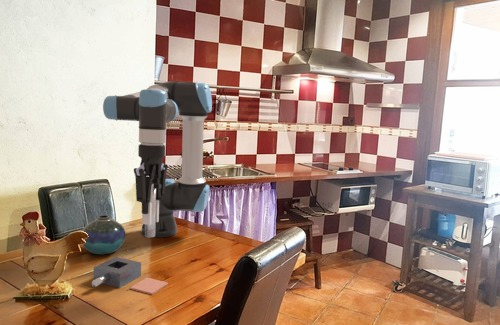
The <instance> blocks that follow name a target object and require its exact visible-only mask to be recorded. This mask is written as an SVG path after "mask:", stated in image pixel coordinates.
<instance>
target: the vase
mask: <svg viewBox="0 0 500 325" xmlns="http://www.w3.org/2000/svg"><path fill="white" fill-rule="evenodd" d="M82 231H84V232H86V233H87V234H88V236H89V237H88V238H87V239H85V241H86V243H85V244H82V246H83V247H84V249H85V250H86V251H87V252H89V253H91V254H94V255H108V254H112V253H114V252H116V251H118V250H119V249H120V248H121V247H122V245H123V244H124V242H125V239H126V231H125V228H124V226H123V225H122V224H121V223H119V222H118V221H116V220H114V219H112V218H110V216H109V215H107V214H103V215H102V214H101V215H98V216H97V218H96V219H94V220H93V221H90V222H89V223H87V224H86V225H85V226H84V228H82Z"/></svg>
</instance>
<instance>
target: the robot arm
mask: <svg viewBox="0 0 500 325" xmlns="http://www.w3.org/2000/svg"><path fill="white" fill-rule="evenodd" d="M104 98H105V99H104V100H103V102H102V103H103V104H102V110H103V114H104V116H105V118H106V119H108V120H113V121H129V122H130V121H131V122H132V121H134V122H138V142H139V143H140V144H138V148H137V149H138V155H137V156H138V157H139V158H141V161H140V164H139V167H135V168H134V169H133V173H134V177H135V179H134V180H135V196H136V198H135V200H136V202H139V203H141V214H142V215H141V216H142V217H141V224H142V225H141V234H142V235H143V236H145V224H146V225H151V213H152V203H150V195H151V186H152V182H154V183H157V184H161V188H160V189H156V220H155V237H154V238H156V239H157V238H160V239H161V238H169V237H172V236H175V235H176V234H177V233H178V225H177V223H176V218H175V215H174V212H175V211H178V212H179V211H180V212H181V211H182V212H192V213H196V212H197V213H199V212H200V213H201V212H204V211H205V210H206V208H207V205H208V201H209V197H210V192H211V191H210V185H209V184H207V180H206V179H205V177H203V171H204V170H203V168H204V167H203V164H204V162H203V161H204V122H205V120H206V119H207V117H209V116H208V113H209V114H210V113H211V112H212V111H213V110H212V109H213V107H212V106H213V98H212V92H211V88H210V86H209V85H208V84H207V83H205V82H198V81H196V82H195V81H194V82H191V81H189V82H188V81H165V82H161V83H156V84H152V85H149V86H148V87H147V88H146V89H141V90H140V91H136V92H134V93H130V94H126V95H116V94H115V95H108V96H106V97H104ZM177 116H179V118H180V119H181V120H182V144H181V146H182V148H181V149H182V150H181V177H180V178H178V179H177V182H175V179H174V178H167V170H168V168H169V165H168V164H167V163H163V160H162V159H164V158H165V156H166V145H165V143H166V140H167V139H166V136H167V135H166V132H167V131H166V129H167V128H166V127H167V126H166V124H168V123H171V122H172V121H174V120H175V119H176V118H177Z"/></svg>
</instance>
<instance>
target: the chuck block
mask: <svg viewBox="0 0 500 325" xmlns="http://www.w3.org/2000/svg"><path fill="white" fill-rule="evenodd" d="M139 277H142V262H140V261H137V260H132V259H128V258H124V257H119V256H115V257H113V258H111V259H108V260H106V261H104V262H102V263H99V264H97V265H95V266H94V267H93V280H92V281H91V286H92V287H94V288H96V287H98V286H100V285H102V284H103V285H107V286H110V287H114V288H118V289H121V288H122V287H124V286H126V285H128V284H130V283H132V282H133V281H134V280H136V279H138V278H139Z"/></svg>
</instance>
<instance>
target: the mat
mask: <svg viewBox="0 0 500 325" xmlns="http://www.w3.org/2000/svg"><path fill="white" fill-rule="evenodd" d="M168 284H169V283H168V281H163V280H159V279H154V278H150V277H144V278H143V279H142V280H140V281H137V283H135V284H133V285H132V286H130V287H129V289H130V290H131V291H132V290H133V291H136V292H140V293H143V294H147V295H151V296H152V295H155V294H156V293H158V291H161V290H162V289H163V288H165V287H166V286H168Z"/></svg>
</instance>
